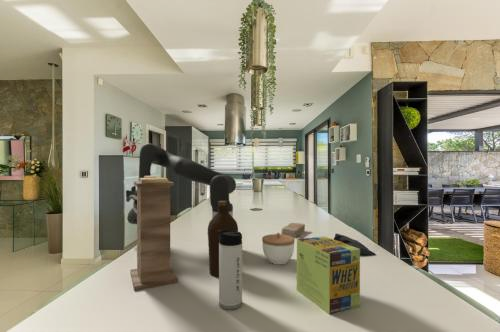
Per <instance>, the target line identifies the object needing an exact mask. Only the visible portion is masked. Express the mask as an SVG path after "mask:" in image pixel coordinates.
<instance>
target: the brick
mask: <svg viewBox="0 0 500 332" xmlns="http://www.w3.org/2000/svg"><path fill="white" fill-rule="evenodd" d="M305 228H306V224H305V223H301V222H299V223H298V222H297V223H296V222H290V223H289V224H288V225H285V226H283V227H282V228H281V234H283V235H289V236H292V237H293V238H294V239H295V238H297V237H298V235H299V236H301V235H302V234H303V233H304V232H305ZM301 233H302V234H301Z"/></svg>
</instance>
